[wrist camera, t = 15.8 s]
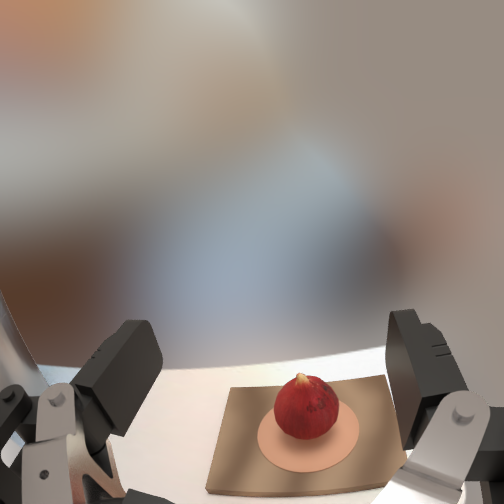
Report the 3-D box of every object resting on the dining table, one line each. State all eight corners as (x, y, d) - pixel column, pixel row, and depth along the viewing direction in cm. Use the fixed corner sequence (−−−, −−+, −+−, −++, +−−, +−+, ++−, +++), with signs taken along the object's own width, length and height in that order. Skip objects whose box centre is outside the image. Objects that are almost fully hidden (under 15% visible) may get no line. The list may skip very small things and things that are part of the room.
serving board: (208, 493, 22) (204, 487, 22) (232, 394, 35) (230, 386, 34) (408, 481, 19) (411, 474, 19) (383, 381, 32) (384, 373, 32)
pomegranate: (339, 410, 28) (341, 353, 25) (334, 455, 23) (337, 402, 20) (284, 408, 30) (276, 352, 27) (272, 452, 25) (260, 398, 22)
